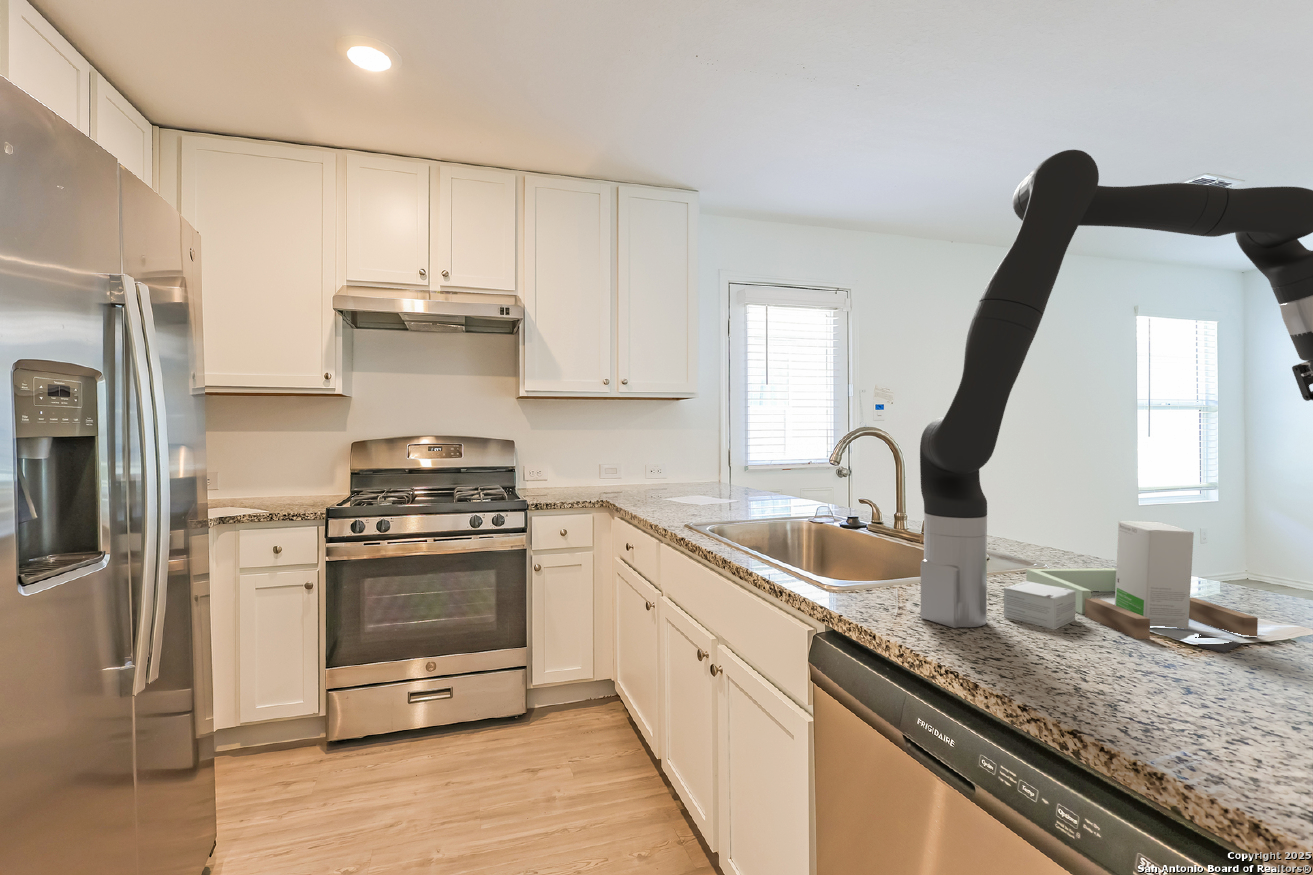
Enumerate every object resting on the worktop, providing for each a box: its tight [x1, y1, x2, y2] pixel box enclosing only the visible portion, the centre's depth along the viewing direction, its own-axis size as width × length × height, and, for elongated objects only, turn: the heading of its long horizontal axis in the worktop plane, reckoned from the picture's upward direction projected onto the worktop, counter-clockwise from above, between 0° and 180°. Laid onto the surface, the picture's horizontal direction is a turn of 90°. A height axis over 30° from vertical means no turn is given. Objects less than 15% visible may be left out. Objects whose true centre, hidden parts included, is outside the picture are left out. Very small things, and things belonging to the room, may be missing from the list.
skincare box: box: [1114, 520, 1195, 630], centre depth 97 cm, size 8×7×16 cm
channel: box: [1084, 597, 1259, 640], centre depth 94 cm, size 10×18×3 cm, turn 90°
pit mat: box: [1195, 633, 1241, 654], centre depth 87 cm, size 6×5×1 cm
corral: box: [1025, 567, 1116, 615], centre depth 108 cm, size 15×18×4 cm
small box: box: [1003, 580, 1076, 630], centre depth 99 cm, size 8×8×5 cm
